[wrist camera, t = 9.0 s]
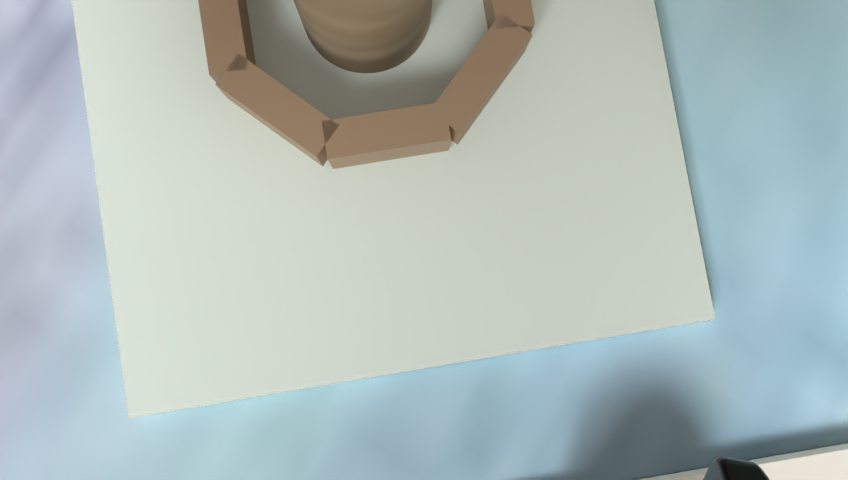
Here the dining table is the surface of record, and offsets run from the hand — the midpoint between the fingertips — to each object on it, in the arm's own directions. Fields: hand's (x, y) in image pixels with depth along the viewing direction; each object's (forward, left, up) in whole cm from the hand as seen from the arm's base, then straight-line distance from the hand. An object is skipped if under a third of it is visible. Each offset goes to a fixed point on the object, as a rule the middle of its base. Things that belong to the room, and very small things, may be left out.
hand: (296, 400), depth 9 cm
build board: (+2, +6, -13) cm, 15 cm away
